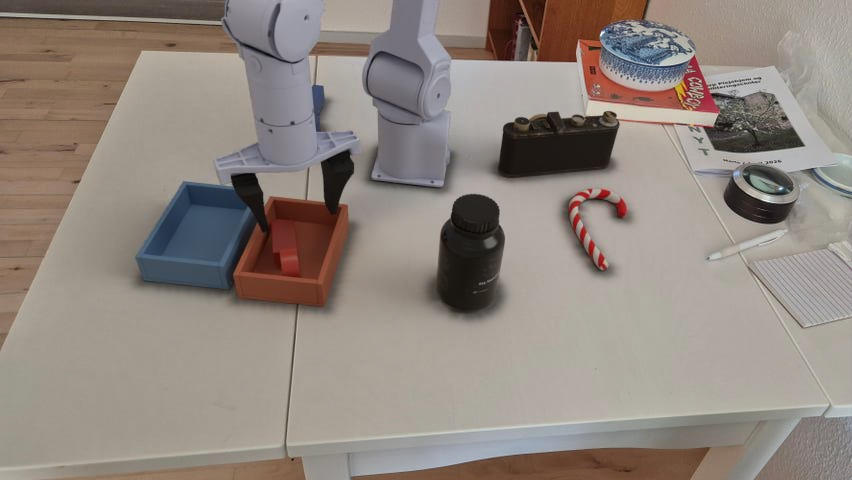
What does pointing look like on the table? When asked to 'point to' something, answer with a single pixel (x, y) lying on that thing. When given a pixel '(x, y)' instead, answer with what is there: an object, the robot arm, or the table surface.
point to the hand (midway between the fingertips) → (297, 217)
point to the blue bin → (198, 237)
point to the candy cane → (579, 226)
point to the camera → (557, 144)
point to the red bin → (316, 254)
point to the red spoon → (285, 247)
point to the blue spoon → (317, 103)
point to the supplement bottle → (470, 253)
